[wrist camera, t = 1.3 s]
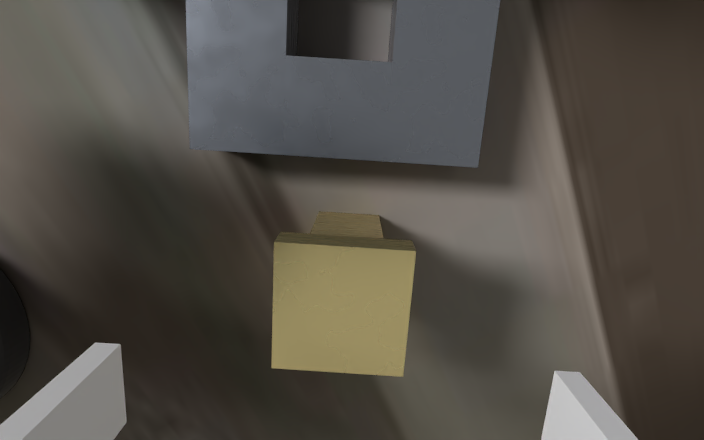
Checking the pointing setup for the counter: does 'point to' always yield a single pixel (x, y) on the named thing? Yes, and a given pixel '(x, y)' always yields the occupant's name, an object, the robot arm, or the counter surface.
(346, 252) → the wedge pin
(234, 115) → the gray post stand
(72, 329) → the counter surface
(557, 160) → the counter surface
